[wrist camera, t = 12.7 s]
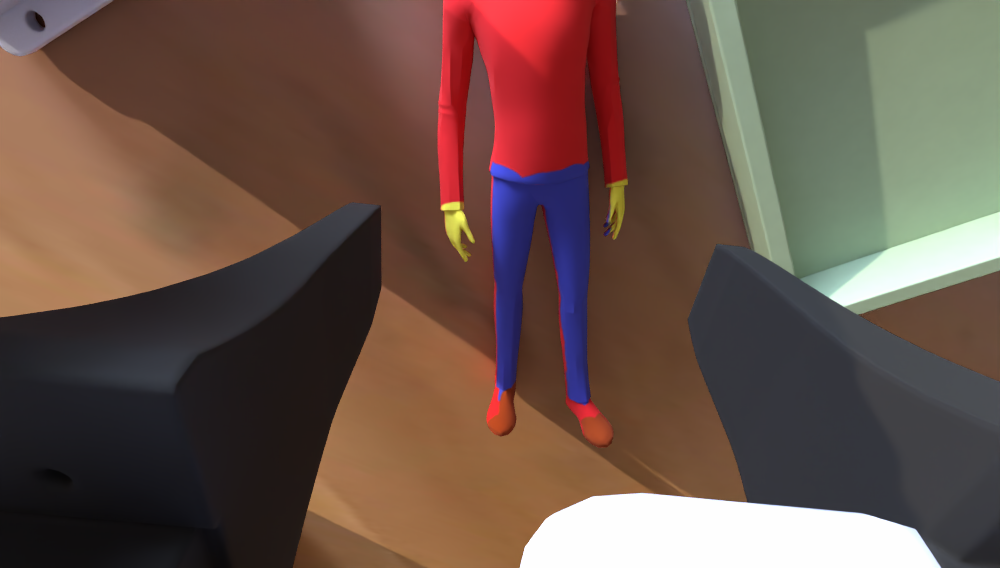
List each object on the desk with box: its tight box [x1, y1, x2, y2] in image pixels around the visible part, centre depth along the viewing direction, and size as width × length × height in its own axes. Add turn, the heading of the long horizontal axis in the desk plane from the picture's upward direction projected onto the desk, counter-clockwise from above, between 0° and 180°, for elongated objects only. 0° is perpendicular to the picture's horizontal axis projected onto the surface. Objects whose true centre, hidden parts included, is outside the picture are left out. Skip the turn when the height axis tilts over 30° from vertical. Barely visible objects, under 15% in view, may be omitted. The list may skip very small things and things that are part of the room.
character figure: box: [438, 0, 628, 448], centre depth 16 cm, size 6×4×20 cm
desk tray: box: [686, 0, 1000, 315], centre depth 14 cm, size 10×17×2 cm, turn 25°
